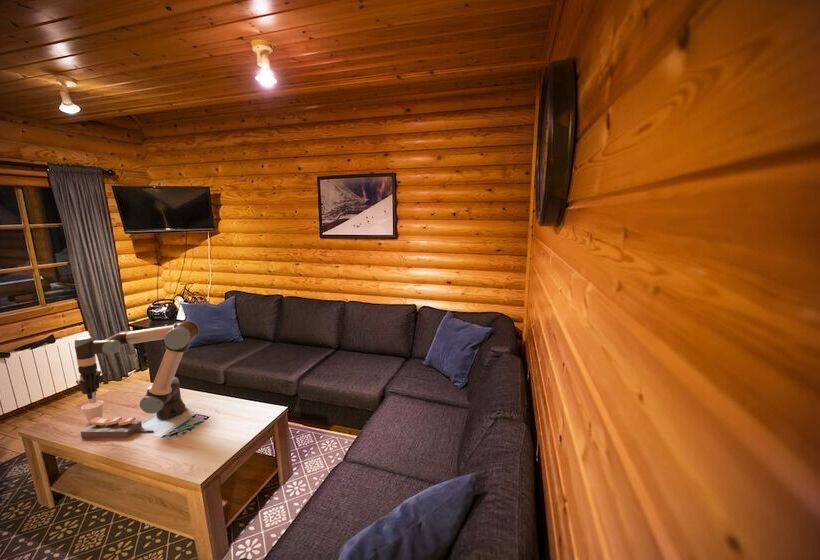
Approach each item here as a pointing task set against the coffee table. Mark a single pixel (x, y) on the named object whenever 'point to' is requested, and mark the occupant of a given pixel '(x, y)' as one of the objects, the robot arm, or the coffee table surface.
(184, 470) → the coffee table surface
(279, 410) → the coffee table surface
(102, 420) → the rocker
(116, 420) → the rocker
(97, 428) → the power strip
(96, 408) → the cup
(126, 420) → the rocker
